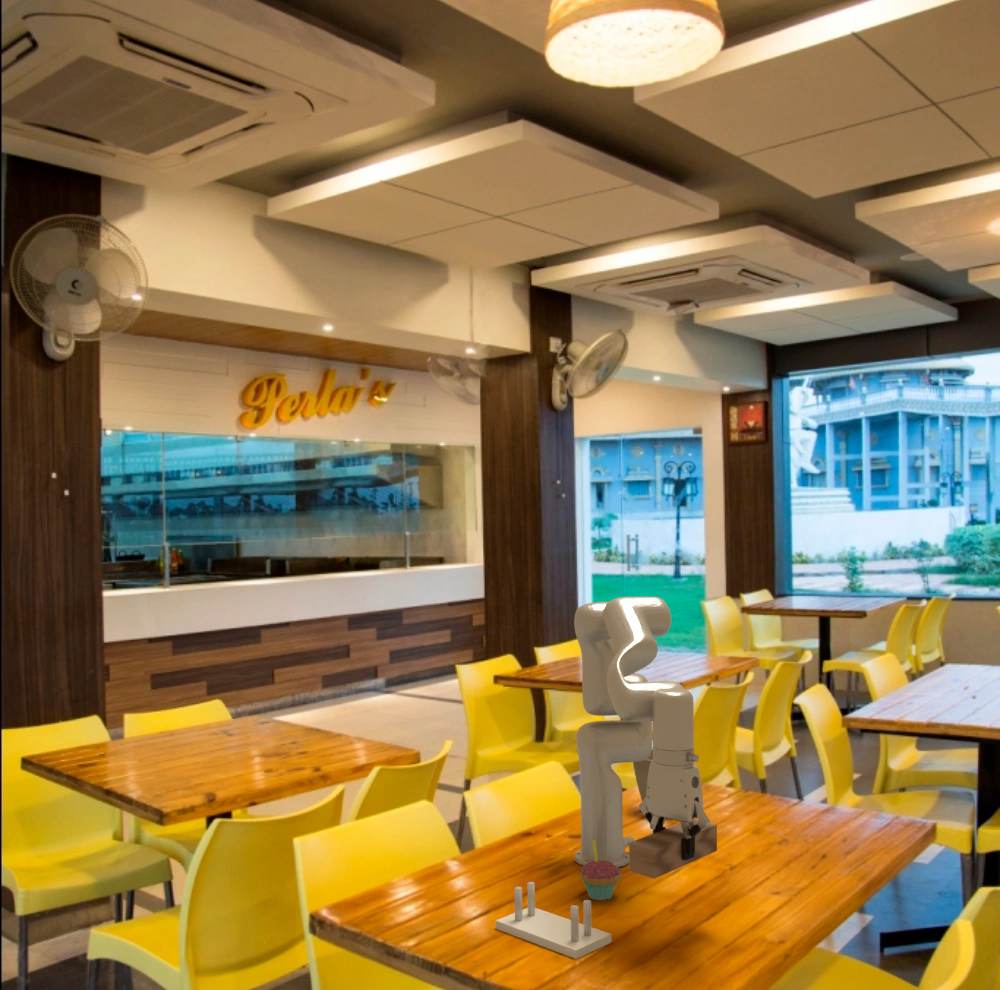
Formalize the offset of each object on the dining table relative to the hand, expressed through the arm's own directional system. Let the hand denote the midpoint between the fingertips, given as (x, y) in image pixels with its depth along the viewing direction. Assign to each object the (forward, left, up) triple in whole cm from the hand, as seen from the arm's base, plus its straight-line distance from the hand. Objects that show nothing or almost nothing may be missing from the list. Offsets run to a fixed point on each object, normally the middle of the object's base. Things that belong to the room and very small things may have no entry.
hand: (673, 853), depth 185 cm
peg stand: (+14, -18, -16) cm, 27 cm away
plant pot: (-66, -50, -16) cm, 84 cm away
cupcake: (-8, -24, -16) cm, 29 cm away
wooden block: (0, 0, -1) cm, 1 cm away
